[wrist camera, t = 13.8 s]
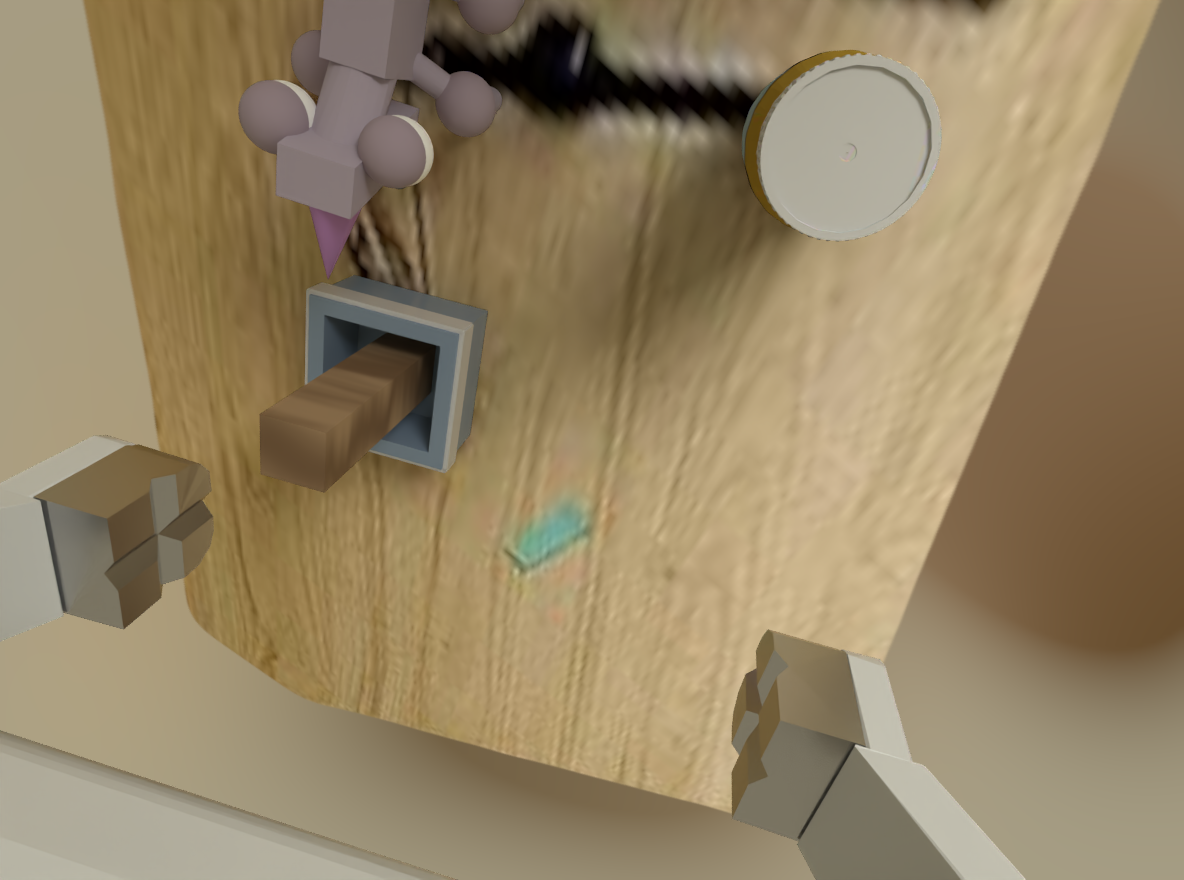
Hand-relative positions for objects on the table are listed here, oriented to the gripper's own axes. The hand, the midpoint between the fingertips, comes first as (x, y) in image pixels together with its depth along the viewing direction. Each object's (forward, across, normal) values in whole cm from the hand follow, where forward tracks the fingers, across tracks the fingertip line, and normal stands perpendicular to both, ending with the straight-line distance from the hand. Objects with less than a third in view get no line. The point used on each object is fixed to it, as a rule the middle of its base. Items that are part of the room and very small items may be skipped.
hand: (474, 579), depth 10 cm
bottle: (+35, -6, -6) cm, 36 cm away
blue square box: (+35, +15, +13) cm, 40 cm away
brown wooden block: (+34, +15, +13) cm, 39 cm away
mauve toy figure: (+35, +15, -5) cm, 39 cm away
